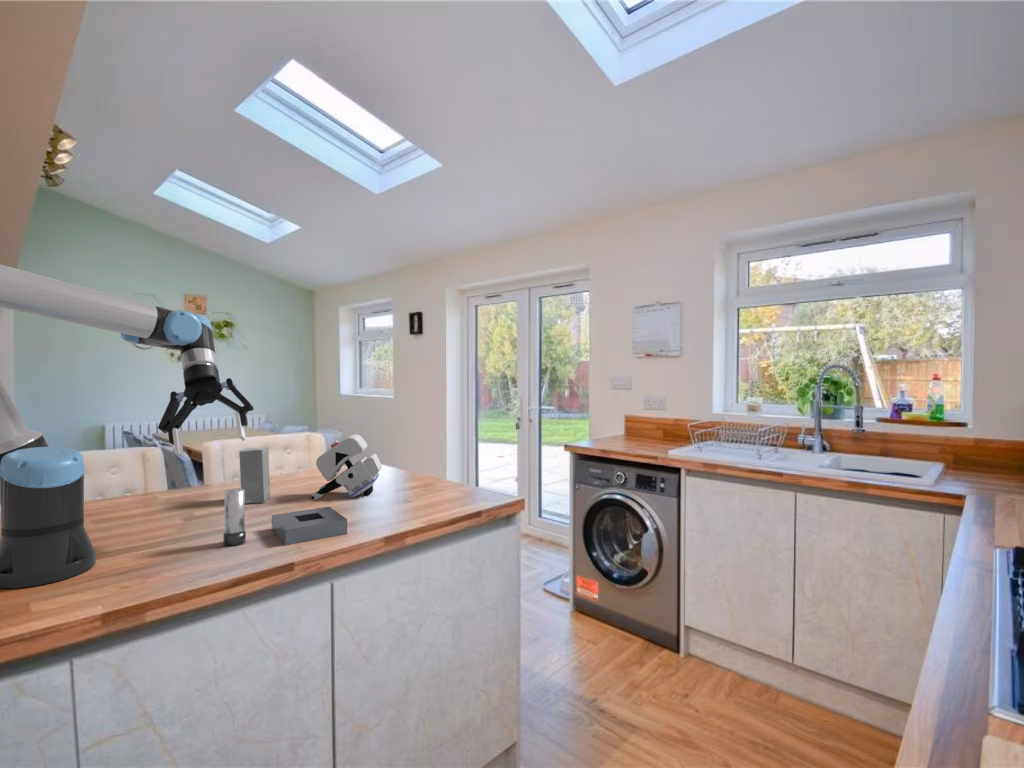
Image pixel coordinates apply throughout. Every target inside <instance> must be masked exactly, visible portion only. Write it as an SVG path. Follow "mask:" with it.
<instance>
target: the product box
mask: <svg viewBox="0 0 1024 768" xmlns="http://www.w3.org/2000/svg"><path fill="white" fill-rule="evenodd" d="M269 451H270V450H269V446H261V447H260V446H259V447H247V448H243V449H241V450H239V452H238V453H239V456H238V457H239V473H240V489H245V505H246V504H264V503H265V502H267V500H268V499H270V498H271V485H270V484H271V483H270V482H271V480H270V479H271V478H270V457H269V456H270V455H269V454H270V452H269Z"/></svg>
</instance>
